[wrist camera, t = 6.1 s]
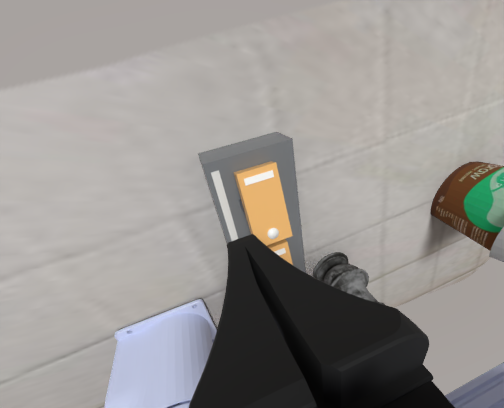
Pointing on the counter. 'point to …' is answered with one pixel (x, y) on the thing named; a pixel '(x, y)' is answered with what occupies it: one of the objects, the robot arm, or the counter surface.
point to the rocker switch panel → (227, 194)
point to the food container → (474, 204)
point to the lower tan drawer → (281, 250)
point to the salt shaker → (343, 276)
